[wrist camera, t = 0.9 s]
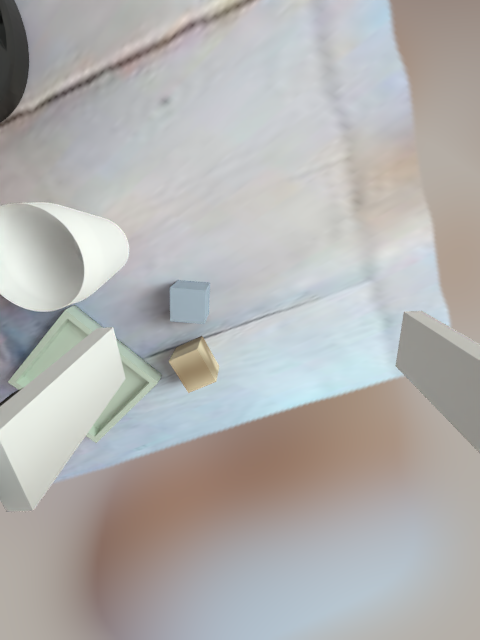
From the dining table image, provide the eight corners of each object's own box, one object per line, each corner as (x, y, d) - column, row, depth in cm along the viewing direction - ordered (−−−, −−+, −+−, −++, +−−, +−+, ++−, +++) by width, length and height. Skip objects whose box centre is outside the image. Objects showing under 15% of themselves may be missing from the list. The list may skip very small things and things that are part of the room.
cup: (115, 297, 36) (55, 333, 25) (51, 251, 35) (-44, 268, 23) (154, 241, 34) (107, 253, 23) (87, 188, 32) (0, 173, 21)
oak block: (176, 347, 39) (168, 361, 35) (202, 335, 38) (197, 348, 34) (194, 376, 40) (188, 392, 37) (219, 365, 40) (216, 381, 36)
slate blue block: (178, 310, 37) (170, 321, 33) (178, 280, 36) (169, 287, 32) (208, 312, 37) (204, 324, 33) (210, 282, 36) (205, 290, 32)
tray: (18, 374, 41) (7, 382, 39) (74, 305, 37) (65, 309, 35) (102, 433, 44) (96, 443, 42) (162, 375, 40) (157, 382, 38)
